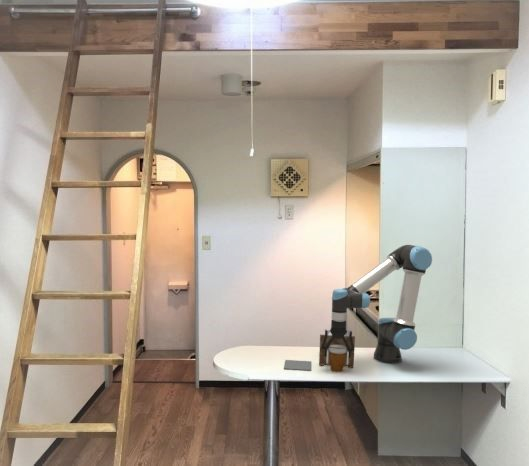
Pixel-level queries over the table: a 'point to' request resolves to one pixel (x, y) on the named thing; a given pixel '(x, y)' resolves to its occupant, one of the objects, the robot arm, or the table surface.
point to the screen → (336, 342)
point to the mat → (297, 365)
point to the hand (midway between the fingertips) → (337, 363)
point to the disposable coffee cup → (337, 357)
